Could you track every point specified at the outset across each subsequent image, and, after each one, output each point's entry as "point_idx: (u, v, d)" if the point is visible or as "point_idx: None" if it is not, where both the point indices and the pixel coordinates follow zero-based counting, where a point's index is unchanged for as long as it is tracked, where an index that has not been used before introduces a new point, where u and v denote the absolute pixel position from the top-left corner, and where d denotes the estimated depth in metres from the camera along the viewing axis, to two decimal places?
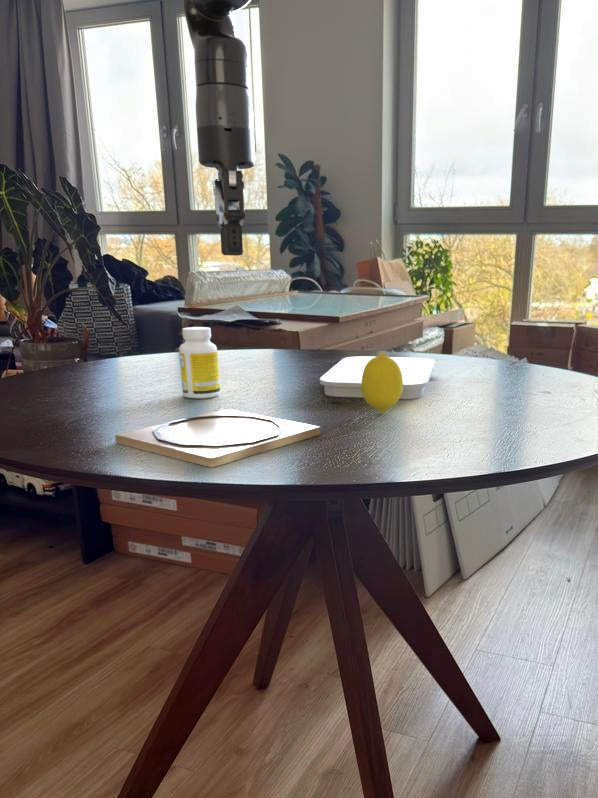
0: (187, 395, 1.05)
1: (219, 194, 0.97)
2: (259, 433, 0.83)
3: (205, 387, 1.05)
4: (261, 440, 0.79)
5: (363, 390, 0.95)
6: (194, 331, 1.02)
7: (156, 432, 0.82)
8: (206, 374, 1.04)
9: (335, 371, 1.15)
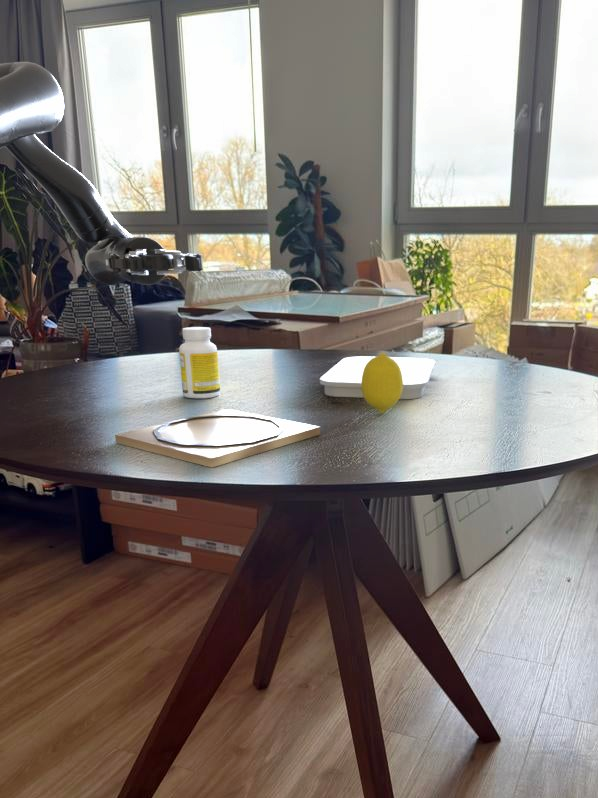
0: (187, 395, 1.05)
1: None
2: (259, 433, 0.83)
3: (205, 387, 1.05)
4: (261, 440, 0.79)
5: (363, 390, 0.95)
6: (194, 331, 1.02)
7: (156, 432, 0.82)
8: (206, 374, 1.04)
9: (335, 371, 1.15)
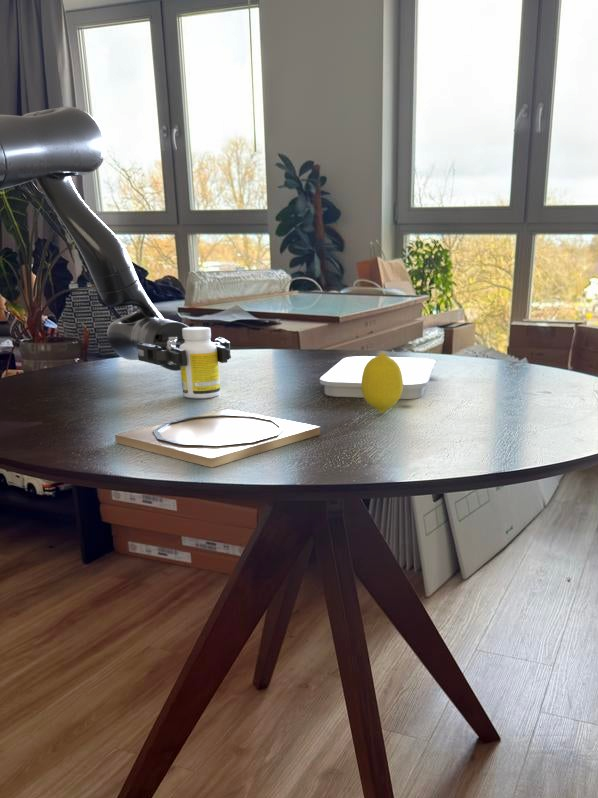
0: (187, 395, 1.05)
1: None
2: (259, 433, 0.83)
3: (205, 387, 1.05)
4: (261, 440, 0.79)
5: (363, 390, 0.95)
6: (194, 331, 1.02)
7: (156, 432, 0.82)
8: (206, 374, 1.04)
9: (335, 371, 1.15)
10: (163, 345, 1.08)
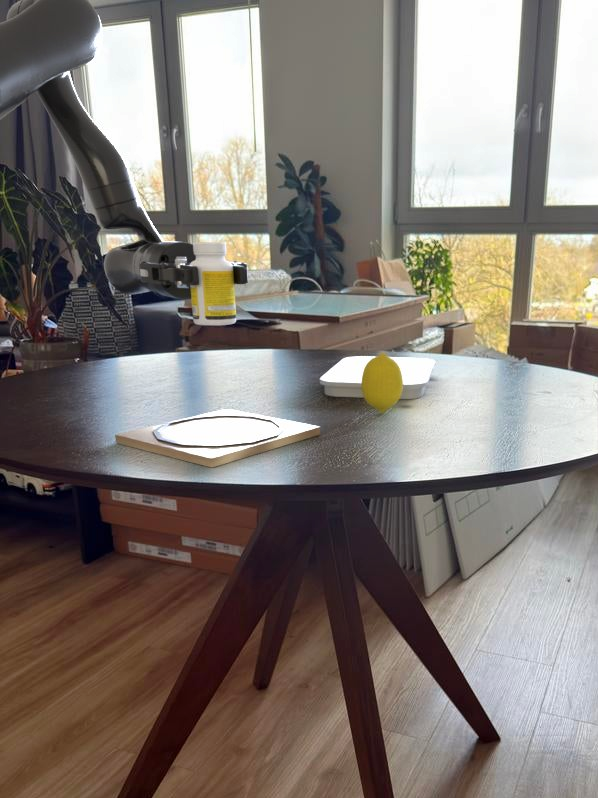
0: (198, 322, 0.90)
1: None
2: (259, 433, 0.83)
3: (220, 312, 0.90)
4: (261, 440, 0.79)
5: (363, 390, 0.95)
6: (207, 244, 0.87)
7: (156, 432, 0.82)
8: (221, 296, 0.89)
9: (335, 371, 1.15)
10: (170, 265, 0.93)
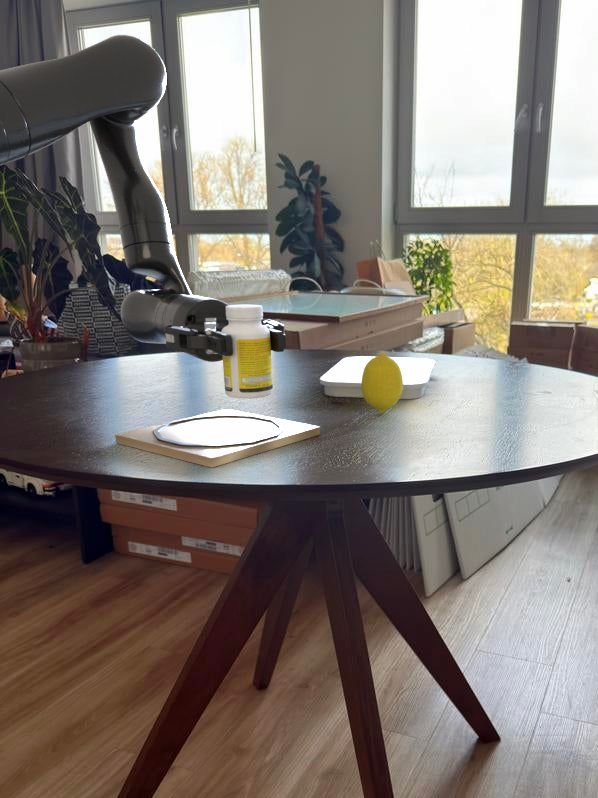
0: (231, 394, 0.80)
1: None
2: (259, 433, 0.83)
3: (256, 384, 0.80)
4: (261, 440, 0.79)
5: (363, 390, 0.95)
6: (242, 309, 0.77)
7: (156, 432, 0.82)
8: (257, 366, 0.79)
9: (335, 371, 1.15)
10: (198, 329, 0.83)
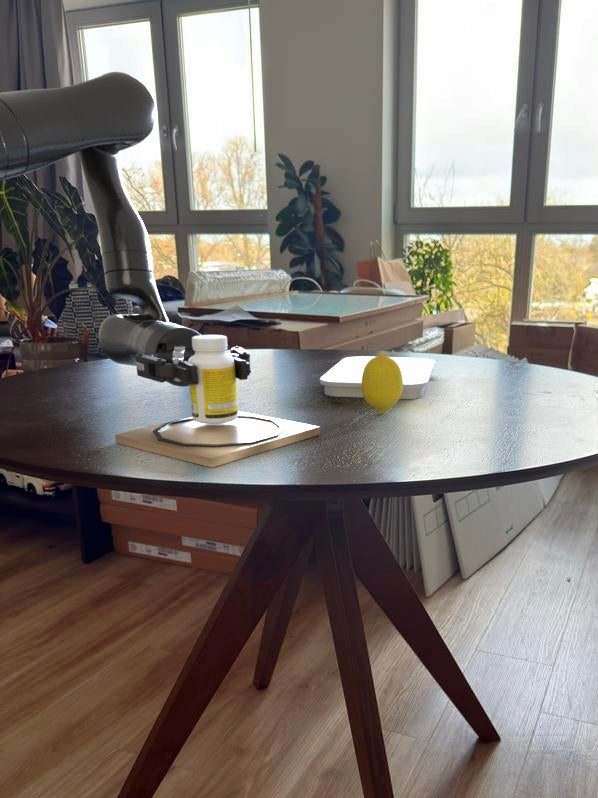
0: (198, 420, 0.85)
1: None
2: (259, 433, 0.83)
3: (220, 410, 0.84)
4: (261, 440, 0.79)
5: (363, 390, 0.95)
6: (207, 341, 0.82)
7: (156, 432, 0.82)
8: (222, 394, 0.84)
9: (335, 371, 1.15)
10: (168, 357, 0.88)
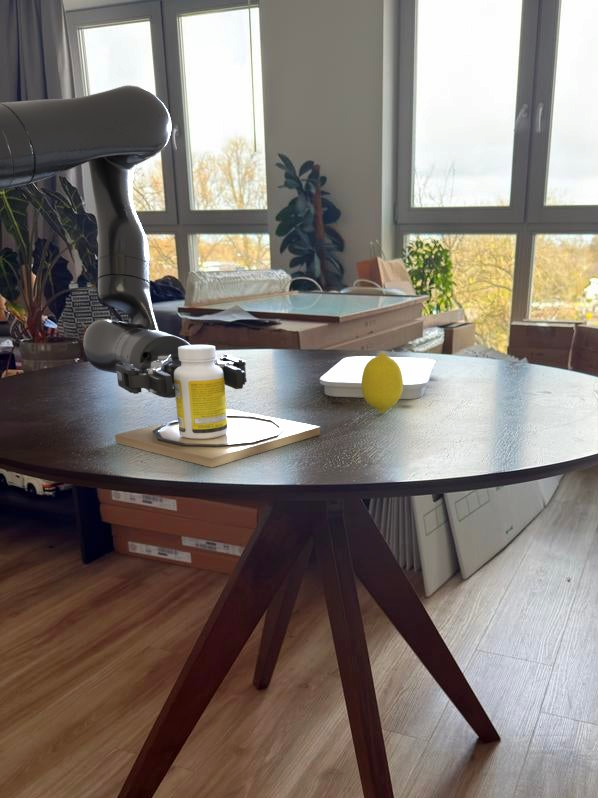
0: (184, 435, 0.80)
1: None
2: (259, 433, 0.83)
3: (208, 424, 0.79)
4: (261, 440, 0.79)
5: (363, 390, 0.95)
6: (194, 351, 0.77)
7: (156, 432, 0.82)
8: (210, 407, 0.79)
9: (335, 371, 1.15)
10: (150, 367, 0.82)
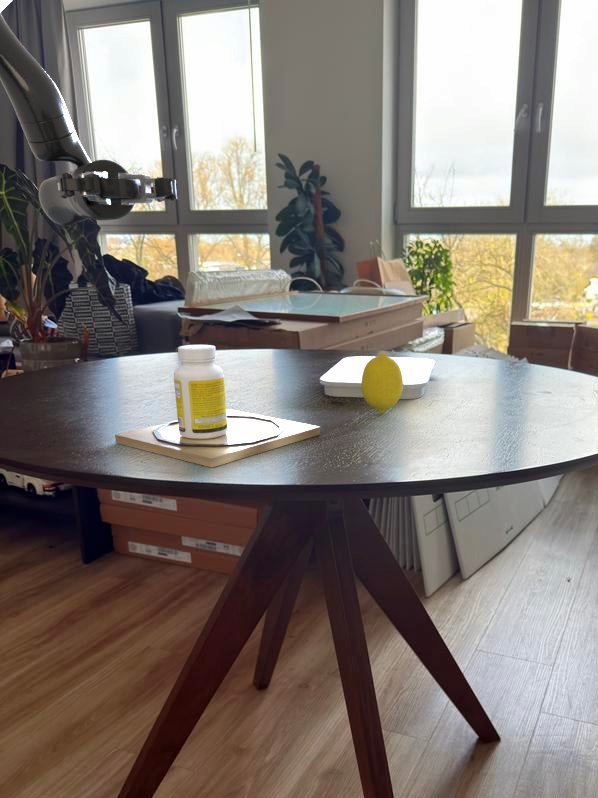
0: (184, 435, 0.80)
1: None
2: (259, 433, 0.83)
3: (208, 424, 0.79)
4: (261, 440, 0.79)
5: (363, 390, 0.95)
6: (194, 351, 0.77)
7: (156, 432, 0.82)
8: (210, 407, 0.79)
9: (335, 371, 1.15)
10: None
